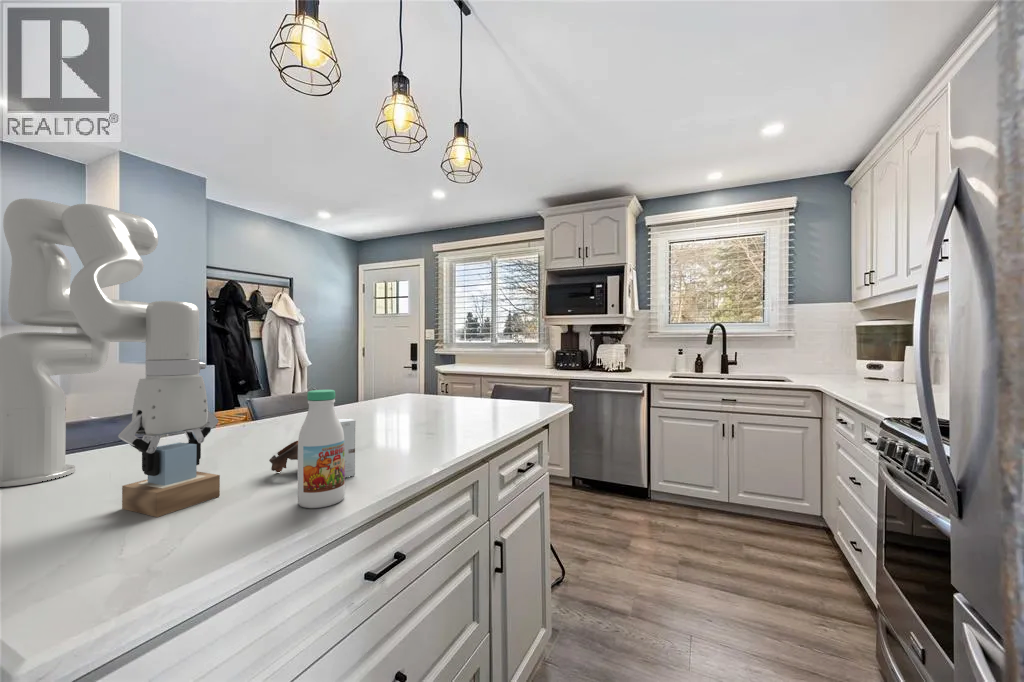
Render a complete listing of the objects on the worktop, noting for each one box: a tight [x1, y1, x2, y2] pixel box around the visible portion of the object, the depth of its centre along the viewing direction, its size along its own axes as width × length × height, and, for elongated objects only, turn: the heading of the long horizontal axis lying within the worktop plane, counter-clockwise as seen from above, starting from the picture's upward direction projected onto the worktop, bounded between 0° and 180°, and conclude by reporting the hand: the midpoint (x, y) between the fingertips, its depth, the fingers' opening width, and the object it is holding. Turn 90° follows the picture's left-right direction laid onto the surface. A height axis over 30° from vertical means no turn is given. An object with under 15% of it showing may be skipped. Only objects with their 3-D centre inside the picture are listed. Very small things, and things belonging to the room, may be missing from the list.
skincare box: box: [338, 417, 356, 478], centre depth 88 cm, size 6×4×12 cm
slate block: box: [147, 442, 197, 486], centre depth 74 cm, size 5×5×6 cm
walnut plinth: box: [121, 470, 221, 518], centre depth 74 cm, size 10×10×4 cm
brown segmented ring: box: [269, 440, 298, 473], centre depth 92 cm, size 12×10×8 cm
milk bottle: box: [297, 389, 346, 509], centre depth 74 cm, size 8×8×20 cm
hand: (172, 468), depth 74 cm, fingers open, 5 cm apart
